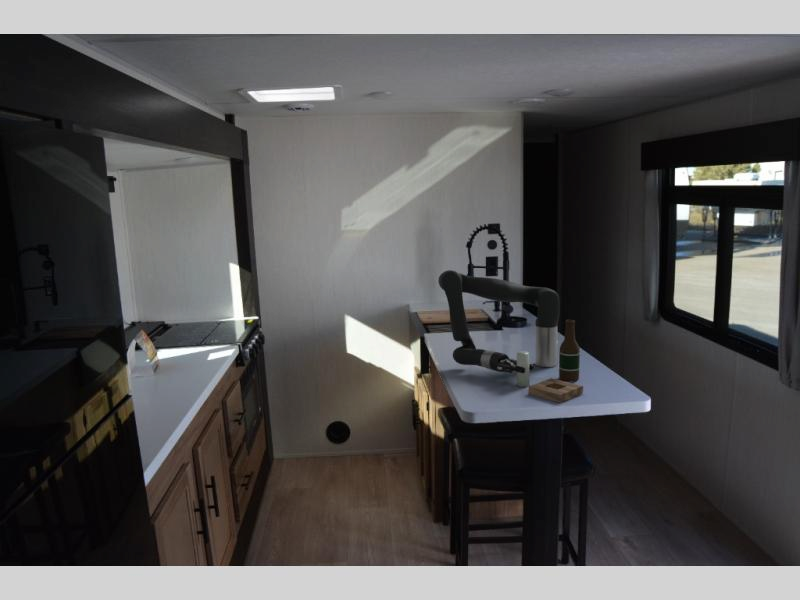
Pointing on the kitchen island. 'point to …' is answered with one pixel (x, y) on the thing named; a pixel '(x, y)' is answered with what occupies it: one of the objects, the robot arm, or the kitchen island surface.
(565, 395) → the walnut block
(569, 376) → the beer bottle
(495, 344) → the kitchen island surface
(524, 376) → the pale green cylinder
